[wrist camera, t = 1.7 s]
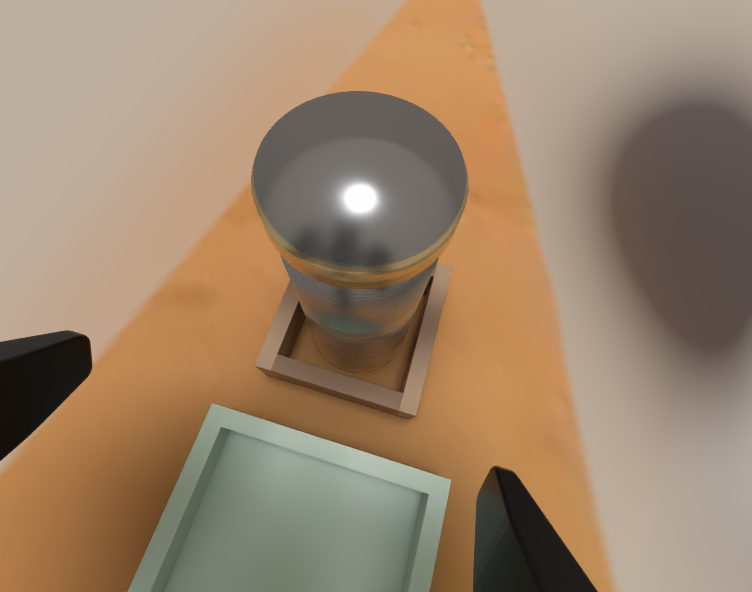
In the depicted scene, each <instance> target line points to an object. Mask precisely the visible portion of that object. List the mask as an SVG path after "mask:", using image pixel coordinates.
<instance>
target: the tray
mask: <svg viewBox="0 0 752 592" xmlns="http://www.w3.org/2000/svg"><path fill="white" fill-rule="evenodd" d="M450 485H451V480H450V479H447V478H445V477H442V476H440V475H437V474H433V473H430V472H427V471H424V470H421V469H418V468H415V467H412V466H409V465H405V464H402V463H399V462H396V461H393V460H390V459H387V458H384V457H381V456H377V455H374V454H371V453H368V452H365V451H362V450H359V449H356V448H353V447H349V446H346V445H343V444H340V443H337V442H334V441H331V440H328V439H325V438H321V437H318V436H315V435H312V434H309V433H306V432H303V431H300V430H297V429H293V428H290V427H287V426H284V425H281V424H278V423H275V422H272V421H269V420H265V419H262V418H259V417H256V416H253V415H250V414H247V413H244V412H241V411H237V410H234V409H231V408H228V407H224V406H221V405H217V404H214V403H212V405H211V407H210V409H209V411H208V414H207V416H206V418H205V420H204V423H203V425H202V427H201V429H200V432H199V434H198V436H197V438H196V440H195V443H194V445H193V447H192V449H191V452H190V454H189V456H188V458H187V460H186V463H185V465H184V467H183V469H182V472H181V474H180V476H179V478H178V481H177V483H176V485H175V487H174V489H173V492H172V494H171V496H170V498H169V501H168V503H167V505H166V507H165V509H164V512H163V514H162V516H161V518H160V521H159V523H158V525H157V527H156V530H155V532H154V534H153V536H152V538H151V541H150V543H149V545H148V547H147V550H146V552H145V554H144V556H143V558H142V561H141V563H140V565H139V567H138V570H137V572H136V574H135V576H134V579H133V581H132V583H131V585H130V587H129V590H128V592H429V591H430V586H431V581H432V576H433V571H434V566H435V561H436V556H437V551H438V546H439V541H440V536H441V530H442V525H443V520H444V515H445V510H446V505H447V500H448V495H449V490H450Z"/></svg>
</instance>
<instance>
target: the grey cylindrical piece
mask: <svg viewBox="0 0 752 592" xmlns="http://www.w3.org/2000/svg"><path fill="white" fill-rule="evenodd" d="M251 187H252V195H253V199H254V204H255V206H256V208H257V211H258V213H259V216H260V218H261V220H262V223H263V225H264V227H265V230H266V232H267V234H268V237H269V239H270V240H271V242H272V244H273V245H274V247H275V249H276V250H277V251H278V252H279V253H280V255H281V258H282V260H283V263H284V265H285V268H286V270H287V273H288V275H289V277H290V280H291V282H292V285H293V287H294V290H295V292H296V295H297V297H298V299H299V302H300V304H301V307H302V309H303V312H304V314H305V317H306V319H307V321H308V324H309V326H310V329H311V331H312V334H313V336H314V339H315V341H316V343H317V346H318V348H319V350H320V352H321V354H322V355H323V356H324V357H325V359H326V360H328V361H329V362H330V363H331V364H332V365H334V366H335V367H337V368H339V369H341V370H344V371H347V372H352V373H365V372H371V371H374V370H377V369H379V368H381V367H382V366H384V365H386V364H387V363H388V362H389V361H391V359H392V358H393V357H394V356H395V355H396V353H397V352H398V350H399V348H400V346H401V344H402V342H403V339H404V337H405V335H406V332H407V330H408V328H409V325H410V323H411V321H412V318H413V316H414V314H415V312H416V309H417V307H418V305H419V302H420V300H421V298H422V295H423V293H424V291H425V288H426V286H427V284H428V282H429V279H430V277H431V275H432V272H433V270H434V268H435V265H436V263H437V261H438V258H439V256H440V255H441V254H442V253H443V251H444V250H445V249H446V247H447V246H448V244H449V242H450V240H451V238H452V236H453V234H454V232H455V229H456V227H457V225H458V223H459V221H460V218H461V216H462V214H463V211H464V208H465V205H466V202H467V196H468V175H467V168H466V165H465V162H464V159H463V156H462V153H461V151H460V149H459V146H458V144H457V142H456V141H455V139H454V138H453V136H452V135H451V133H450V132H449V131H448V130H447V129H446V128H445V127H444V125H443V124H442V123H441V122H439V121H438V120H437V119H436V118H435V117H434V116H432V115H431V114H430V113H428V112H427V111H425V110H424V109H422V108H420V107H418V106H417V105H415V104H413V103H410V102H408V101H406V100H403V99H401V98H397V97H394V96H391V95H387V94H382V93H376V92H366V91H350V92H339V93H334V94H328V95H325V96H321V97H318V98H315V99H312V100H310V101H307V102H305V103H303V104H301V105H299V106H298V107H296V108H294V109H292V110H291V111H290V112H288V113H287V114H285V115H284V116H283V117H282V118H280V119H279V120H278V121H277V122H276V123H275V125H274V126H272V128H271V129H270V130H269V131H268V133H267V134H266V136H265V137H264V139H263V140H262V142H261V145H260V147H259V149H258V151H257V154H256V157H255V160H254V164H253V167H252V176H251Z"/></svg>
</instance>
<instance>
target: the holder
mask: <svg viewBox="0 0 752 592" xmlns="http://www.w3.org/2000/svg"><path fill="white" fill-rule="evenodd" d="M451 270H452V268H451V267H448V266H444V265H441V264H437V263H436V265H435V268H434V270H433V272H432V275H431V277H430V279H429V282H428V284H427V286H426V288H425V291H424V293H423V294H426V296H425V300H424V304H423V307H422V311H421V315H420V319H419V322H418V326H417V330H416V334H415V337H414V341H413V345H412V349H411V352H410V356H409V360H408V364H407V368H406V371H405V375H404V379H403V383H402V386H401V390H400V392H398V391H395V390H391V389H388V388H385V387H382V386H378V385H375V384H372V383H369V382H365V381H362V380H359V379H356V378H353V377H349V376H346V375H343V374H340V373H336V372H333V371H330V370H327V369H323V368H320V367H317V366H314V365H310V364H307V363H304V362H301V361H297V360H294V359H291V358H289V357H290V354H291V352H292V349H293V347H294V344H295V342H296V339H297V336H298V334H299V331H300V329H301V326H302V324H303V321H304V318H305V314H304V312H303V309H302V307H301V304H300V302H299V299H298V297H297V295H296V292H295V290H294V287H293V285H292V282H291V280H290V282H289V285H288V287H287V289H286V292H285V294H284V297H283V299H282V301H281V304H280V306H279V308H278V311H277V313H276V315H275V318H274V320H273V323H272V325H271V327H270V330H269V332H268V334H267V337H266V339H265V341H264V344H263V346H262V348H261V351H260V353H259V356H258V358H257V360H256V363H255V365H254V366H256V367H257V368H258V369H260V370H261V371H262V372H264V373H265V374H266V375H269V376H272V377H275V378H279V379H282V380H285V381H288V382H291V383H295V384H298V385H301V386H304V387H307V388H311V389H314V390H317V391H320V392H323V393H326V394H330V395H333V396H336V397H339V398H342V399H346V400H349V401H352V402H355V403H358V404H362V405H365V406H368V407H371V408H374V409H378V410H381V411H384V412H387V413H390V414H394V415H397V416H400V417H403V418H406V419H411V418H413V417H415V416H416V414H417V410H418V406H419V402H420V398H421V393H422V389H423V385H424V381H425V377H426V373H427V369H428V365H429V361H430V357H431V352H432V348H433V344H434V340H435V336H436V332H437V328H438V324H439V320H440V315H441V311H442V307H443V303H444V299H445V295H446V291H447V287H448V283H449V279H450V274H451Z"/></svg>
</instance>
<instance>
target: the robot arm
mask: <svg viewBox="0 0 752 592" xmlns="http://www.w3.org/2000/svg"><path fill="white" fill-rule="evenodd" d="M91 370H92V355H91V345H90V340H89V338H88V337H87V336H86V335H83V334H80V333H77V332H73V331H67V330H66V331H60V332H54V333H49V334H43V335H37V336H31V337H26V338H20V339H14V340H8V341H3V342H0V461H1V460H2V459H3V458H4V457H6V456H7V455H8V454H9V453H10V452H11V451H13V450H14V449H15V448H16V447H17V446H18V445H19V444H21V443H22V442H23V441H24V440H25V439H26V438H27V437H28V436H30V435H31V434H32V433H33V432H34V431H35V430H36V429H37V428H38V427H39V426H40V425H41V424H42V423H43V422H44V421H45V420H46V419H47V418H48V417H49V416H50V415H51V414H52V413H53V412H54V411H55V410H56V409H57V408H58V407H59V406H60V405H61V404H62V403H63V402H64V401H65V400H66V399H67V398H68V397H69V396H70V394H71V393H72V392H73V391H74V390H75V389H76V388H77V387H78V386H79V385H80V384H81V383H82V382H83V381H84V380H85V379H86V378H87V377H88V376H89V374H90V372H91ZM473 592H598V591H597V590H596V588H595V587H594V585H593V584H592V583H591V581H590V580H589V578H588V577H587V575H586V574H585V573H584V571H583V570H582V568H581V567H580V565H579V564H578V562H577V561H576V560H575V558H574V557H573V555H572V554H571V552H570V551H569V549H568V548H567V547H566V545H565V544H564V542H563V541H562V539H561V538H560V537H559V535H558V534H557V532H556V531H555V529H554V528H553V526H552V525H551V524H550V522H549V521H548V519H547V518H546V516H545V515H544V513H543V512H542V511H541V509H540V508H539V506H538V505H537V503H536V502H535V501H534V499H533V498H532V496H531V495H530V493H529V492H528V490H527V489H526V488H525V486H524V485H523V483H522V482H521V480H520V479H519V477H518V476H517V475H516V474H515V473H514V472H513V471H511V470H508V469H505V468H502V467H499V466H493V467H492V468H491V469H490V471H489V473H488V475H487V477H486V479H485V481H484V483H483V485H482V487H481V489H480V491H479V493H478V496H477V502H476V523H475V547H474V571H473Z"/></svg>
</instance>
